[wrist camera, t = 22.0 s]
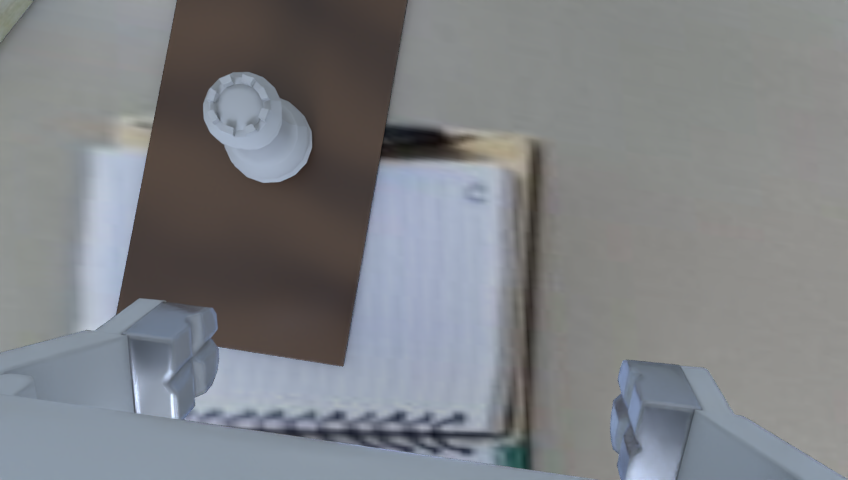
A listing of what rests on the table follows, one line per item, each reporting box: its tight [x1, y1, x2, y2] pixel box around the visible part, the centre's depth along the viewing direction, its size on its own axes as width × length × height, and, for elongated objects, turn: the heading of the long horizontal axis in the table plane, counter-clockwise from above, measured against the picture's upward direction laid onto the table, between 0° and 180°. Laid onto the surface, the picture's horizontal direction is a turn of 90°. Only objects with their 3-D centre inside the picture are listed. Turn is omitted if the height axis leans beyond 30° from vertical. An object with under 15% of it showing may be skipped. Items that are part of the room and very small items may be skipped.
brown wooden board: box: [116, 0, 407, 366], centre depth 34 cm, size 22×12×1 cm, turn 170°
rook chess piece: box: [203, 72, 312, 183], centre depth 29 cm, size 4×4×8 cm
